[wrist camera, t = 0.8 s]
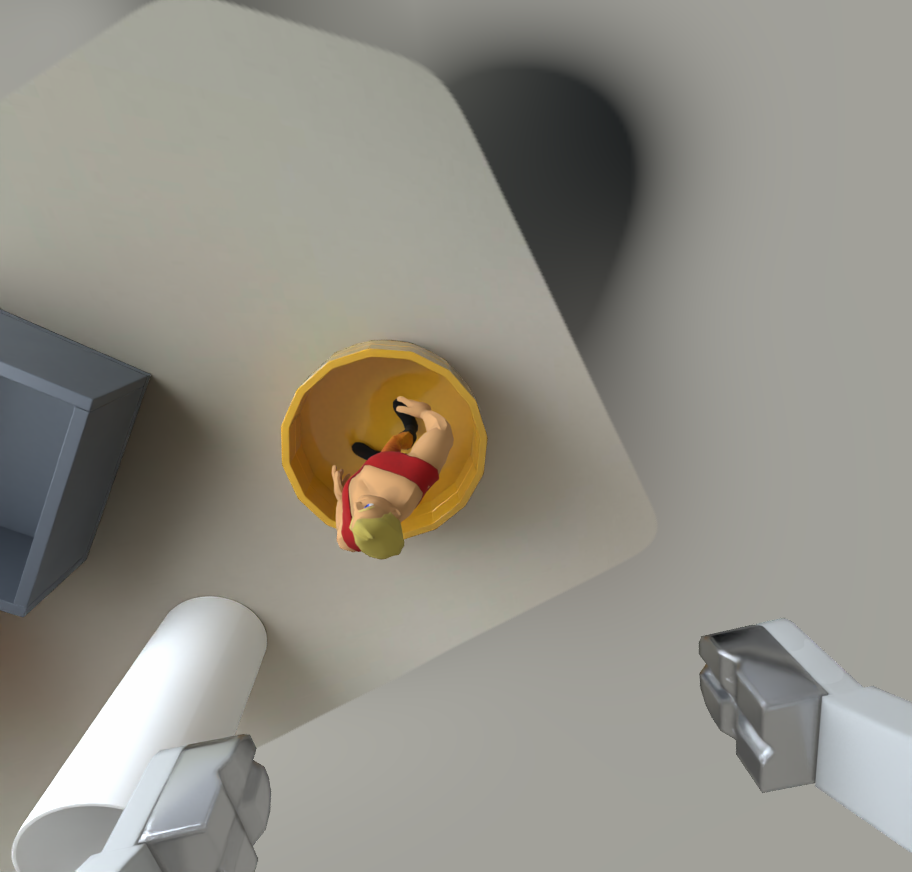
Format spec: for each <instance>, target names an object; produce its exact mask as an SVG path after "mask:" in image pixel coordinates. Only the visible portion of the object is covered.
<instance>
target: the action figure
mask: <svg viewBox="0 0 912 872" xmlns="http://www.w3.org/2000/svg"><path fill="white" fill-rule="evenodd" d="M393 409H394V411H395V413H396V414H397V416H398V417H399V418H400V419H401V421H402V423H403V425H404V428H405V430H404V431H402V432H400V433H399V434H397V435H394V436H392V438H391V439H390V440H389V441H388V443H387V444H386V445H385V446H384V448H383V449H382V451H376V450H374V449H372V448H370V447H369V446H367V445H366V444H364V443H360V442H355V443H354V444H353V445H352V451H353V452H354V453H355V454H356V455H357V456H359V457H361V458H363V459H365V460H367V461H366V462H365V463H364V464H363V465H362V467H361V468H360V469H359V470H358V471H357V472H356V473H355V474H354V475H353V476H352V477H350V474H347V475H346V476H345V477H344V479H343V480H342V475H343V473H344V471H343V469H341V470H339V471H337V467H336V465H333V466H332V477H333V481H334V492H335V496H336V498H337V500H338V502H337V507H336V529H337V532H338V533H337V542H338V544H339V546H340V548H341V549H344V550H347V551H351V552H356V551H357V552H360V551H362V552H363V553H365V554H366V555H368V556H370V557H373V558H377V559H386V558H389V557H391V556H395V555H399V554H400V552H401V550H402V548H403V547H404V538H403V533H402V527H401V522H402V521H403V520H404V519H406V518H407V517H409V516H410V515H411V513H412V512H413V511H414V510H415V508H416V507H417V506H418V505H419V503H420V502H421V500H422V498H423V497H424V495H425V494H426V492H427V491H428V490H429V489H430V488H431V487H432V485H433V484H434V483H435V482H436V481H438V480H439V474H440V472H441V469H442V467H443V466H444V464H445V463H446V460H447V457H448V454H449V451H450V449H451V448H452V446H453V441H454V438H453V434H452V429H451V426H450V424H449V423H448V421H447V420H446V419H445V418H444V417H443V416H441V415H440V414H438V413H436V412H434V411H432V410H431V407H430V406H429V405H428V404H427V403H424V402H418V401H414V400H408V399H406V398H405V397H401V396H399V397H397V399H395V400H394V401H393ZM415 417H417V418H420V419H423V421H424V423H425V427H426V431H427V432H426V433H424V434H423V435H422V436H421V437H420V439H419V440H418V441H417V442H416V443H415V441H416V439H417V435H416V432H417V431H418V424H417V421H416V419H415ZM414 443H415V444H414ZM413 445H414V446H413ZM412 446H413V448H412ZM410 448H412V450H411V452H410V453H408V454H406V453H401V449H403V450H406V449H407V450H408V449H410ZM349 477H350V478H349ZM347 480H348V481H347ZM346 481H347V482H346Z"/></svg>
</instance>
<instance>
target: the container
mask: <svg viewBox="0 0 912 872" xmlns="http://www.w3.org/2000/svg"><path fill="white" fill-rule="evenodd" d="M150 376H151V374H149V373H146V372H144V371H142V370H140V369H137V368H135V367H133V366H130V365H128V364H126V363H123V362H121V361H119V360H116V359H114V358H112V357H110V356H107V355H105V354H103V353H100V352H98V351H96V350H93V349H91V348H89V347H86V346H84V345H82V344H79V343H77V342H75V341H73V340H70V339H68V338H66V337H63V336H61V335H59V334H56V333H54V332H52V331H49V330H47V329H45V328H42V327H40V326H38V325H36V324H33V323H31V322H29V321H26V320H24V319H22V318H19V317H17V316H15V315H12V314H10V313H8V312H5V311H3V310H1V309H0V610H1V611H4V612H7V613H10V614H14V615H17V616H20V617H25V616H26V615H27V614H28V613H29V612H30V611H31V610H32V609H33V608H34V607H35V606H37V605H38V604H39V603H40V602H41V601H42V600H43V599H44V598H45V597H46V596H47V595H48V594H50V593H51V592H52V591H53V590H54V589H55V588H56V587H57V586H58V585H59V584H60V583H61V582H62V581H64V580H65V579H66V578H67V577H68V576H69V575H70V574H71V573H72V572H73V571H74V570H75V569H77V568H78V567H79V566H80V565H81V564H82V563H83V562H84V561H85V560H86V559H87V556H88V553H89V550H90V547H91V544H92V542H93V539H94V536H95V533H96V530H97V527H98V524H99V522H100V519H101V516H102V513H103V510H104V507H105V504H106V502H107V499H108V496H109V493H110V490H111V487H112V484H113V482H114V479H115V476H116V473H117V470H118V467H119V464H120V462H121V459H122V456H123V453H124V450H125V447H126V444H127V442H128V439H129V436H130V433H131V430H132V427H133V424H134V422H135V419H136V416H137V413H138V410H139V407H140V404H141V402H142V399H143V396H144V393H145V390H146V387H147V384H148V382H149V379H150Z"/></svg>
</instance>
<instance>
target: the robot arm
mask: <svg viewBox="0 0 912 872" xmlns="http://www.w3.org/2000/svg"><path fill="white" fill-rule="evenodd" d="M699 655H700V656H701V657H702V659H703V660H704V661H705V663H706V665H705V667H704V668H703V669H702V671H701V672H700V686H701V691H702V694H703V697H704V701H705V704H706V706H707V709H708V711H709V713H710V714H711V717H712V718H713V720H714V722H715V723H716V724H717V726H718V728H719V729H720V731H722V732H724V733H725V734H727V735H729V736H730V737H732V738H734V739H735V740H736V755H737V756H738V758H739V759H740V760H741V762H742V764H743V765H744V767H745V768H746V770H747V771H748V773H749V774H750V775H751V777H752V779H753V780H754V782H755V783H756V784H757V786H758V787H759V789H760V790H761V792H762V793H765V792H770V791H775V790H781V789H786V788H791V787H797V786H802V785H807V784H812V783H815V786H816V787H817V788H818V789H820V790H821V791H823V792H824V793H826V794H827V795H829V796H830V797H831V798H833V799H834V800H836V801H837V802H839V803H840V804H842V805H843V806H844V807H846V808H847V809H849V810H850V811H852V812H853V813H854V814H856V815H857V816H859V817H860V818H862V819H863V820H864V821H866V822H867V823H869V824H870V825H872V826H873V827H875V828H876V829H877V830H879V831H880V832H882V833H883V834H885V835H886V836H888V837H889V838H891V839H892V840H893V841H895V842H896V843H898V844H899V845H900V846H902V847H903V848H905V849H907V850H908V851H909V852H911V853H912V702H910V701H908V700H905V699H903V698H900V697H898V696H896V695H893V694H891V693H889V692H886V691H884V690H881V689H879V688H877V687H874V686H870V687H862V685H860V684H859V683H858V682H857V681H856V680H855V679H854V678H853V677H852V676H851V675H849V674H848V673H847V672H846V671H845V670H844V669H843V668H842V667H841V666H840V665H839V664H837V662H835V661H834V660H833V659H832V658H831V657H830V656H829V655H828V654H827V653H826V652H825V651H824V650H822V649H821V648H820V647H819V646H818V645H817V644H816V643H815V642H814V641H813V640H811V638H809V637H808V636H807V635H806V634H805V633H804V632H803V631H802V630H801V629H800V628H799V627H798V626H796V625H795V624H794V623H793V622H792V621H790V620H788V619H786V618H781V619H777V620H772V621H767V622H763V623H759V624H756V625H749V626H745V627H740V628H736V629H732V630H727V631H723V632H718V633H714V634H710V635H705V636H701V639H700V641H699ZM256 749H257V748H256V746H255V744H254V742H253V740H252V738H251V736H250V735H246V734H242V735H237V736H231V737H226V738H221V739H215V740H210V741H204V742H199V743H194V744H188V745H186V746H181V747H175V748H170V749H164V750H160V751H159V752H158V753H156V754H155V755H154V756H153V757H152V758H151V760H150V761H149V763H148V765H147V767H146V769H145V771H144V773H143V775H142V776H141V778H140V780H139V782H138V784H137V786H136V788H135V790H134V792H133V793H132V795H131V797H130V799H129V801H128V803H127V805H126V807H125V809H124V811H123V812H122V814H121V816H120V818H119V820H118V822H117V824H116V826H115V828H114V829H113V831H112V833H111V835H110V837H109V839H108V841H107V843H106V845H105V846H104V848H103V850H102V852H101V853H98V854H94V855H91V856H90V857H89V858H88V859H87V860H86V861H85V862H84V863H83V864H82V865H81V866H80V867H79V868H78V869H77V870H76V871H75V872H255V869H256V865H257V862H258V857H257V855H256V853H255V851H254V848H253V845H254V844H255V842H256V841H257V840H258V839H259V837H260V836H261V835H262V833H263V832H264V831H265V830H266V826H267V822H268V818H269V813H270V802H271V788H270V782H269V777H268V774H267V772H266V769H265V767H264V766H262V765H261V764H259V763H257V762H255V761H254V760H253V758H254V755H255V752H256Z"/></svg>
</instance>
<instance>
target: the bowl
mask: <svg viewBox="0 0 912 872" xmlns="http://www.w3.org/2000/svg"><path fill="white" fill-rule="evenodd" d="M399 396H401V397H405V398H406V399H408V400H414V401H418V402H424V403H427V404H428V405H429V406H430V407H431V410H432V411H434V412H436V413H438V414H440V415H441V416H443V417H444V418H445V419H446V420H447V421H448V423H449V424H450V426H451V429H452V434H453V438H454V441H453V446H452V448H451V449H450V451H449V454H448V457H447V460H446V463H445V464H444V466H443V467H442V469H441V472H440V474H439V480H438V481H436V482H435V483H434V484H433V485H432V487H431V488H430V489H429V490H428V491H427V492H426V494H425V495H424V497H423V498H422V500H421V502H420V503H419V505H418V506H417V507H416V508H415V510H414V511H413V512H412V513H411V515H410V516H409V517H407V518H406V519H404V520H403V521H402V522H401V527H402V533H403V538H404V539H407V538H410V537H413V536H416V535H419V534H422V533H425V532H429V531H432V530H435V529H437V528H438V527H439V526H441V525H442V524H443V523H444V522H446V521H447V520H448V519H450V518H451V517H452V516H453V515H455V514H456V513H457V512H458V511H460V510H461V509H462V508H463V507H465V505H466V504H467V502H468V500H469V499H470V497H471V495H472V493H473V492H474V490H475V488H476V486H477V485H478V483H479V481H480V479H481V478H482V476H483V474H484V466H485V457H486V448H487V439H488V438H487V434H486V431H485V427H484V424H483V421H482V418H481V414H480V411H479V408H478V405H477V402H476V400H475V397H474V395H473V393H472V391H471V389H470V387H469V386H468V385H467V384H466V382H465V381H464V380H463V379H462V378H461V376H460V375H459V374H458V372H457V371H456V370H455V369H454V368H453V367H452V366H451V365H450V364H449V363H448V362H447V361H446V360H445V359H443V358H441V357H440V356H438V355H436V354H434V353H433V352H431V351H429V350H427V349H425V348H422V347H420V346H418V345H415V344H413V343H407V342H401V341H394V340H371V341H368V342H364V343H360V344H356V345H353V346H351V347H348V348H346V349H344V350H341V351H338V352H336V353H334V354H333V355H332V356H331V357H330V358H329V359H328V360H326V361H325V362H324V363H323V364H322V365H321V366H320V367H319V368H318V369H316V370H315V371H314V372H313V373H312V374H311V375H310V376H309V377H308V378H307V379H306V380H305V381H304V382H303V383H302V384H301V386H300V387H299V388H298V389H297V391H296V393H295V395H294V397H293V400H292V402H291V404H290V407H289V409H288V411H287V413H286V416H285V418H284V420H283V423H282V425H281V443H282V466H283V468H284V470H285V472H286V474H287V476H288V478H289V480H290V482H291V485H292V487H293V489H294V491H295V493H296V495H297V497H298V499H299V500H300V501H301V502H302V503H303V504H304V505H305V506H307V507H308V508H309V509H310V510H311V511H312V512H313V513H314V514H315V515H316V516H317V517H319V518H320V519H321V520H322V521H323V522H324V523H325V524H326V525H328V526H331V527H333V528H336V507H337V502H338V500H337V498H336V496H335V492H334V481H333V477H332V466H333V465H336V467H337V471H339V470H341V469H343V471H344V473H343V475H342V480H343V479H344V477H345V476H346V475H347V474H350V477H352V476H353V475H354V474H355V473H356V472H357V471H358V470H359V469H360V468H361V467H362V465H363V464H364V463H365V462H366V461H367V460H365V459H363V458H361V457H359V456H357V455H356V454H355V453H354V452H353V451H352V445H353V444H354V443H355V442H360V443H364V444H366V445H367V446H369V447H370V448H372V449H374V450H376V451H382V449H383V448H384V446H385V445H386V444H387V443H388V441H389V440H390V439H391V438H392V436H394V435H397V434H399V433H400V432H402V431H404V430H405V428H404V425H403V423H402V421H401V419H400V418H399V417H398V416H397V414H396V413H395V411H394V409H393V401H394V400H395V399H397V397H399ZM415 419H416V421H417V424H418V431H417V432H416V435H417V439H416V441H415V443H416V442H417V441H418V440H419V439H420V437H421V436H422V435H423V434H424V433H426V432H427V431H426V427H425V423H424V421H423V419H420V418H417V417H415ZM415 443H414V444H415ZM413 446H414V445H413ZM413 446H412V448H413ZM412 448H410V449H408V450H407V449H406V450H403V449H401V453H406V454H408V453H410V452H411V450H412ZM350 477H349V478H350ZM347 481H348V480H347ZM347 481H346V482H347Z"/></svg>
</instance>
